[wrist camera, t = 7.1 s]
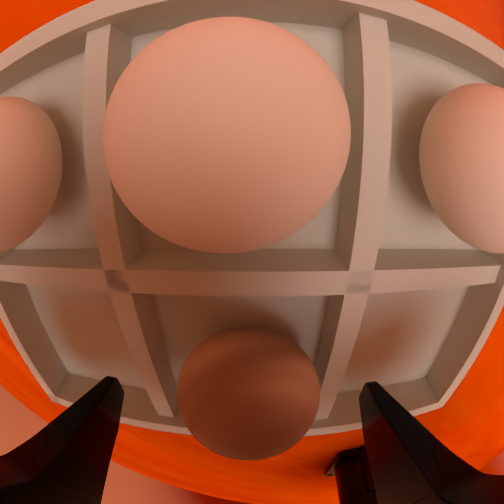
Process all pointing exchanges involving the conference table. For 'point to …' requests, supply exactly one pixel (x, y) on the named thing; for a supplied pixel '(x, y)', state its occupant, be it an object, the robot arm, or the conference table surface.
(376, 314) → the egg tray
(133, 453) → the conference table surface
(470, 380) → the conference table surface
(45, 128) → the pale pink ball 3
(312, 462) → the conference table surface
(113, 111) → the cream egg
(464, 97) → the cream egg
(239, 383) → the egg brown
